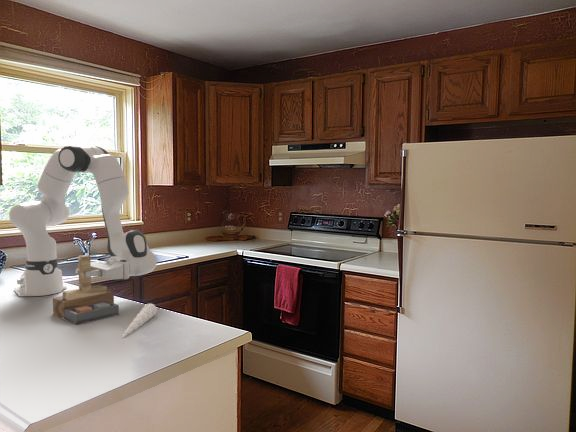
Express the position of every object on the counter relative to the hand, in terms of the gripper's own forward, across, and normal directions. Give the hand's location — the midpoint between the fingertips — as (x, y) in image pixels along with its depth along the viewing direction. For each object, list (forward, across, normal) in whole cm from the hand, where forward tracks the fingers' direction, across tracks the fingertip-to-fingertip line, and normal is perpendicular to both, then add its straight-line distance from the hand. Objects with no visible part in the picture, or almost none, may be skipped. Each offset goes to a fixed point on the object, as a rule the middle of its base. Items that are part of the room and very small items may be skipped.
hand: (80, 273), depth 160 cm
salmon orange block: (+4, +10, +10) cm, 15 cm away
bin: (+1, +9, +14) cm, 17 cm away
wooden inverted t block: (-1, +1, +8) cm, 8 cm away
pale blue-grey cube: (-2, +10, +10) cm, 15 cm away
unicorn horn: (-5, +29, +15) cm, 33 cm away
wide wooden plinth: (-1, 0, +14) cm, 14 cm away
